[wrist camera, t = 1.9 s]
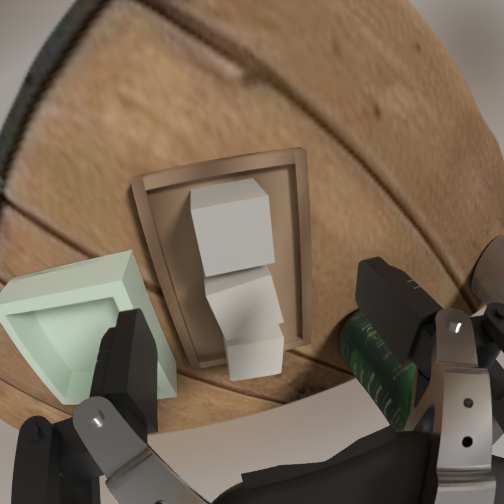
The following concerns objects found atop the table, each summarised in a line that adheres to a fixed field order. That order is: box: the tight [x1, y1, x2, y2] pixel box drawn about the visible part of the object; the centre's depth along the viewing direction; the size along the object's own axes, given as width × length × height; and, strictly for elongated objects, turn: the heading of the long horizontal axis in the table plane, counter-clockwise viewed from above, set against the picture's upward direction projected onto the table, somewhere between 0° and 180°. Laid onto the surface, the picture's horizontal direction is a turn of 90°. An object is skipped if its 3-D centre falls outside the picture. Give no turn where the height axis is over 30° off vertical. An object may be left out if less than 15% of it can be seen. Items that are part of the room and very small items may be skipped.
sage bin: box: [0, 250, 177, 404], centre depth 20 cm, size 12×12×4 cm
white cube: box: [223, 324, 284, 381], centre depth 22 cm, size 4×4×4 cm
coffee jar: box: [339, 309, 504, 445], centre depth 20 cm, size 10×8×19 cm
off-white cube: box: [191, 178, 275, 277], centre depth 17 cm, size 4×4×4 cm
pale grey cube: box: [202, 264, 284, 341], centre depth 20 cm, size 4×4×4 cm
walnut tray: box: [130, 147, 312, 370], centre depth 22 cm, size 11×17×1 cm, turn 7°
